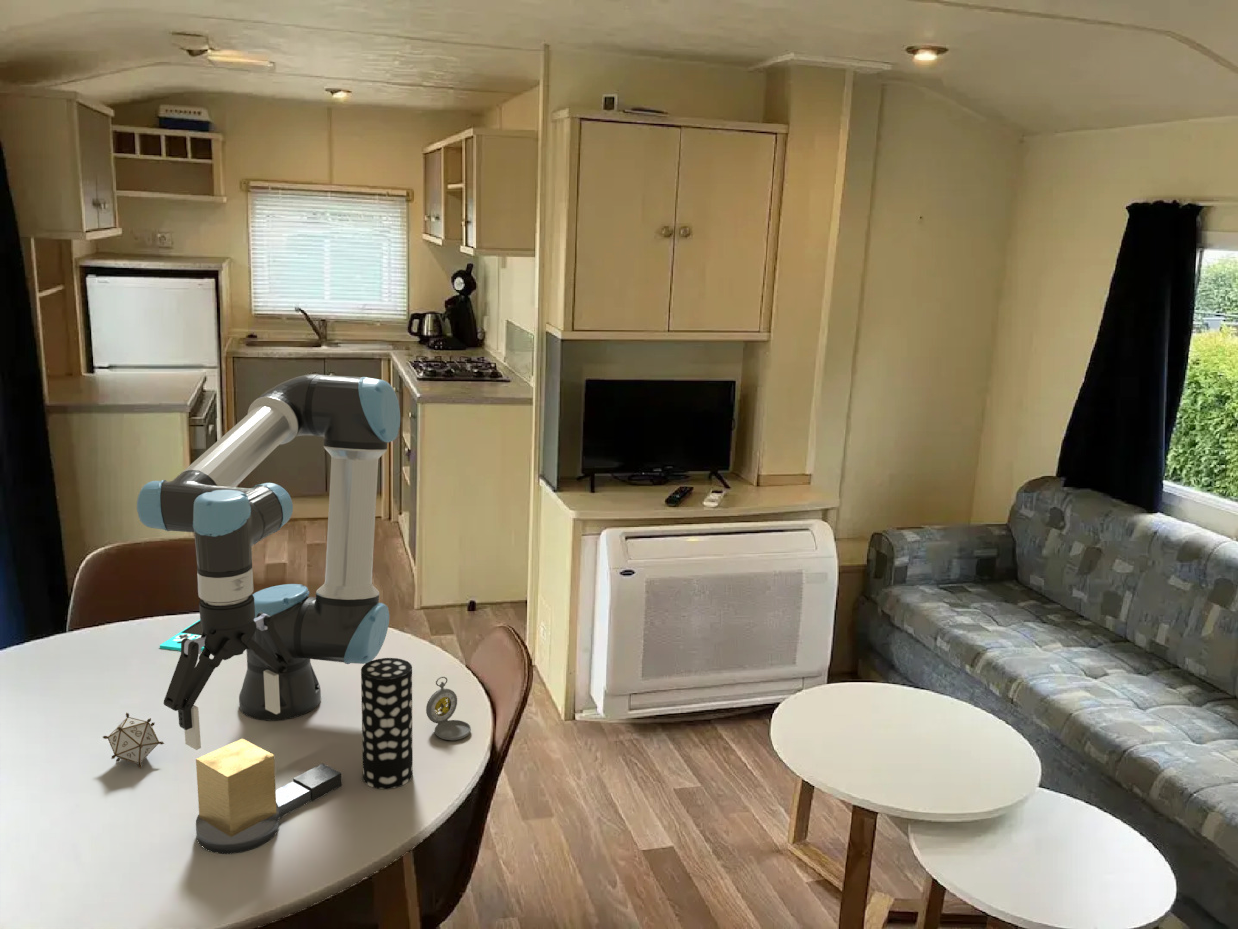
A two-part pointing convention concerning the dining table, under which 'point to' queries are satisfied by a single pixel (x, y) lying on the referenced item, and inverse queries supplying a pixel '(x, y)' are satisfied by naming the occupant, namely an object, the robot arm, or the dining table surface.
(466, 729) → the pocket watch
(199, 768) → the golden tan block
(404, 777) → the white-spotted black cylinder
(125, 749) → the game die
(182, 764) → the dining table surface
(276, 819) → the grey handled disc
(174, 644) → the handheld game console
